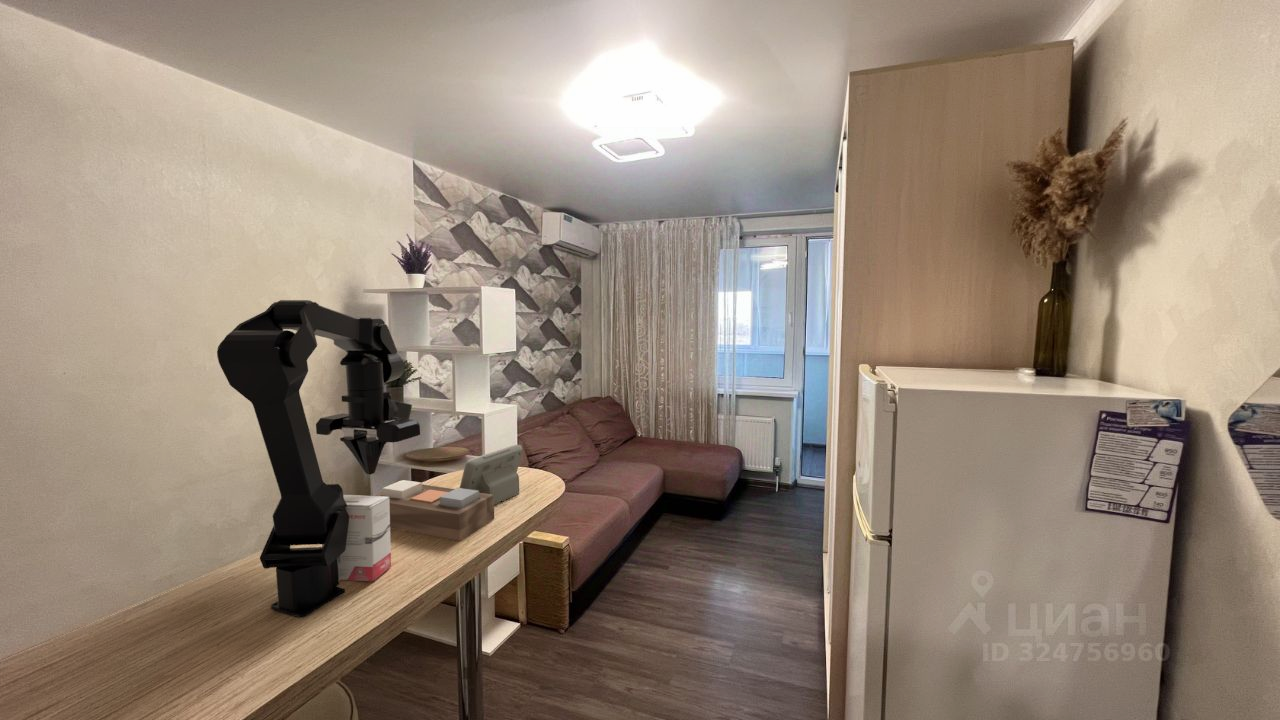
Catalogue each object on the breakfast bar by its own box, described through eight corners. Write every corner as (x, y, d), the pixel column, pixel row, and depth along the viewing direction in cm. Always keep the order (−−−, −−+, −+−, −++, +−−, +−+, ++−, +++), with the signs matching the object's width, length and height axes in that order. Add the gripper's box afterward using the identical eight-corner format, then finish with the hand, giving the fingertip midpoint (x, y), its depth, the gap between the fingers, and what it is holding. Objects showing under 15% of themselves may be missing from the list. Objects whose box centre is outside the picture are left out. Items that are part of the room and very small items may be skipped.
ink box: (393, 565, 78) (391, 494, 77) (373, 582, 73) (370, 506, 72) (344, 563, 79) (340, 492, 78) (320, 579, 74) (316, 504, 73)
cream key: (403, 506, 94) (402, 491, 93) (383, 502, 95) (382, 488, 95) (422, 496, 98) (421, 482, 98) (403, 493, 100) (402, 479, 100)
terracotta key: (432, 516, 91) (431, 501, 91) (411, 513, 93) (410, 498, 93) (450, 506, 96) (449, 492, 96) (430, 503, 98) (429, 489, 98)
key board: (460, 541, 87) (459, 514, 86) (367, 523, 94) (366, 499, 93) (494, 518, 96) (493, 494, 96) (407, 504, 103) (406, 482, 103)
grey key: (462, 515, 89) (461, 500, 89) (440, 512, 91) (439, 496, 90) (479, 505, 94) (478, 490, 94) (458, 502, 95) (457, 487, 95)
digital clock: (511, 483, 116) (510, 440, 115) (534, 492, 111) (533, 447, 110) (448, 503, 104) (446, 455, 103) (470, 514, 98) (468, 463, 97)
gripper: (440, 384, 90) (444, 465, 91) (365, 380, 96) (369, 456, 98) (392, 393, 80) (396, 485, 81) (311, 388, 86) (316, 473, 87)
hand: (370, 473), depth 87 cm, fingers closed
